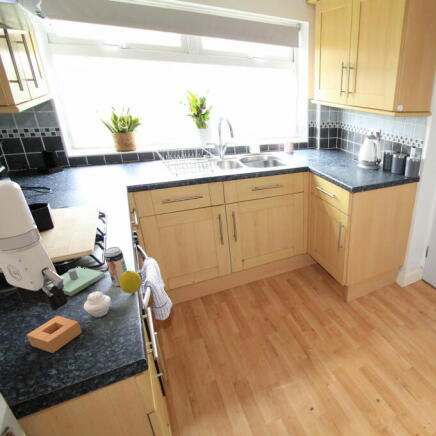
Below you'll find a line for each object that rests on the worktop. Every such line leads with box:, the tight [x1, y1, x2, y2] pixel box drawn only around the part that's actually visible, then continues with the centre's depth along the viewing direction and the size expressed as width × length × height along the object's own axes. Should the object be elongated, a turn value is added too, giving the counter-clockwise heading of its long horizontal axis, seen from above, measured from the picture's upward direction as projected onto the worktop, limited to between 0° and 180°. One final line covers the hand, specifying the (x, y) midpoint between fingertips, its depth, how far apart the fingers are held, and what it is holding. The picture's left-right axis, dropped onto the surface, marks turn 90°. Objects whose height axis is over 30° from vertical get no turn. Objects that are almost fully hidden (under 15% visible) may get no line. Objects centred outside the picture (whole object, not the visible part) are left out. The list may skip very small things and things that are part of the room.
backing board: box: [47, 266, 106, 297], centre depth 100 cm, size 11×11×4 cm
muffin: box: [83, 291, 112, 318], centre depth 87 cm, size 6×6×7 cm
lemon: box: [119, 270, 142, 295], centre depth 95 cm, size 6×6×8 cm
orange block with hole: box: [26, 315, 83, 354], centre depth 79 cm, size 7×7×4 cm
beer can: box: [103, 246, 128, 287], centre depth 99 cm, size 5×5×12 cm
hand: (45, 302), depth 75 cm, fingers open, 9 cm apart
